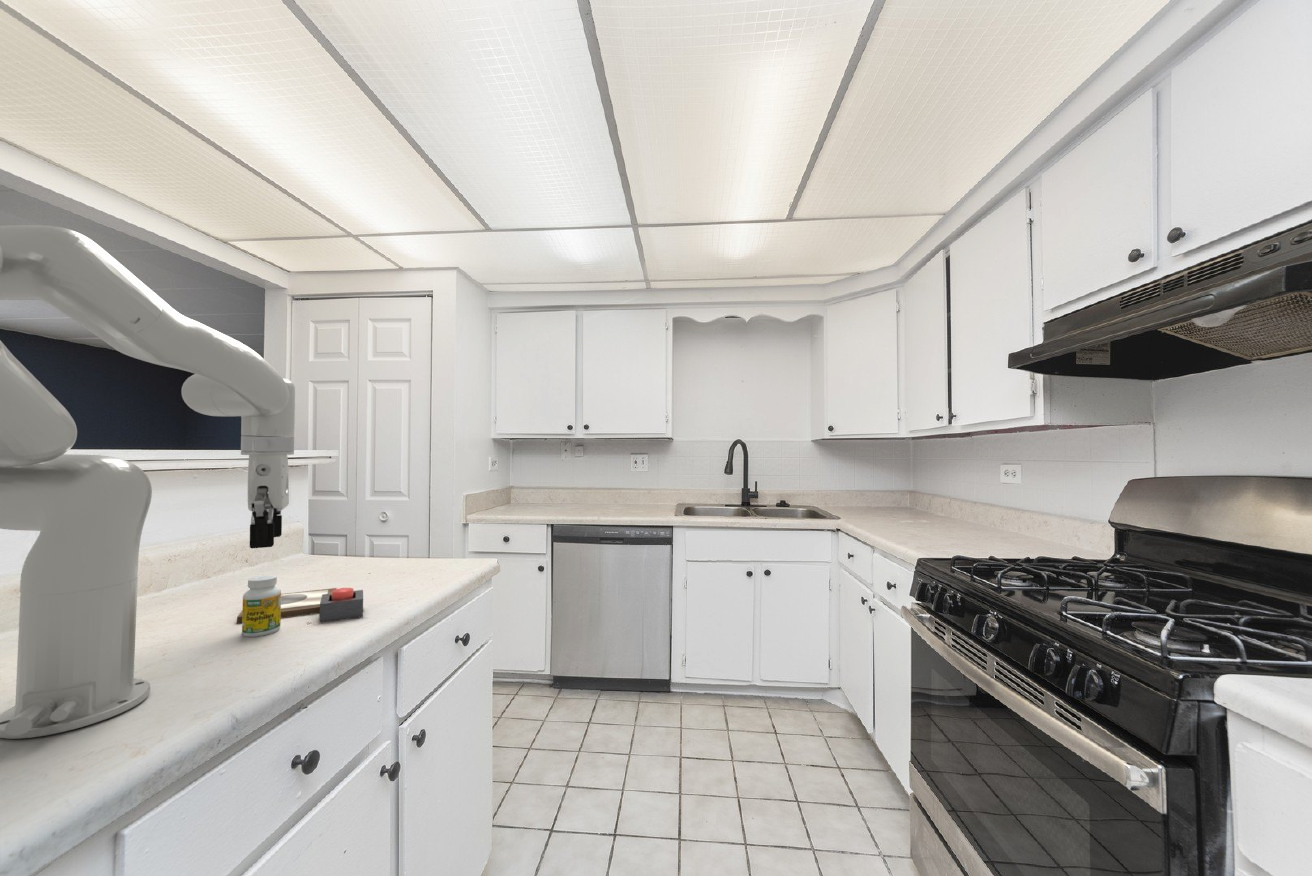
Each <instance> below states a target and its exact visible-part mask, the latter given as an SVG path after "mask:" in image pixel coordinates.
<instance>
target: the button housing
mask: <svg viewBox="0 0 1312 876" xmlns="http://www.w3.org/2000/svg"><path fill="white" fill-rule="evenodd" d="M363 614H364V590H363V589H358V590H353V598H352V599H344V600H335V601H332V593H331V594H322V598H321V602H320V613H319V615H318V616H319V618H318V619H319V620H318V622H319V624H322V623H330V622H337V621H344V620H351V619H357V618H363V617H364V616H363Z"/></svg>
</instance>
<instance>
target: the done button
mask: <svg viewBox="0 0 1312 876" xmlns="http://www.w3.org/2000/svg"><path fill="white" fill-rule="evenodd" d="M353 591H354V588H353V587H341V588H337V589H335V590H333V591H332V601H335V600H344V599H352V598H353Z"/></svg>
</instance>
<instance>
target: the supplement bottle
mask: <svg viewBox="0 0 1312 876" xmlns="http://www.w3.org/2000/svg"><path fill="white" fill-rule="evenodd" d="M277 579H278V577H277V575H274V574H272V575H271V574H269V575H268V574H267V575H257V576H254V577H250V578H249V579H248V580H247V587H248V590H246V591H245V592H244V593H243V595H242V610H241V611H242V623H241V635H243V636H244V637H245V638H257V637H264V636H267V635H268V636H269V635H270V634H273V633H276V632H277V631H279V630H280V628H281V619H282V618H281V594H282V590H281V588H280V587H278V586H276V585H277V582H278V580H277Z"/></svg>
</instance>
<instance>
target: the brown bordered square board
mask: <svg viewBox="0 0 1312 876" xmlns="http://www.w3.org/2000/svg"><path fill="white" fill-rule="evenodd" d="M335 589H338V588H337V587H333V588H332V587H331V588H323V589H313V590H305V591H298V592H297V591H295V592H289V593H288V592H287V593H281V619H284V618H293V617H301V616H308V615H315V614H320V602H321V598H322V594H331V593H332V591H333V590H335ZM236 624H242V610H241V611H240V612H239V614H238V615H237V617H236Z"/></svg>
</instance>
